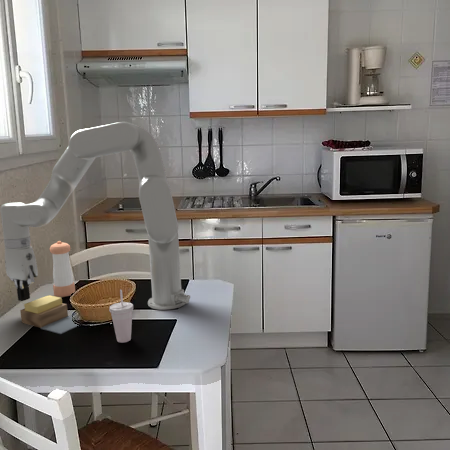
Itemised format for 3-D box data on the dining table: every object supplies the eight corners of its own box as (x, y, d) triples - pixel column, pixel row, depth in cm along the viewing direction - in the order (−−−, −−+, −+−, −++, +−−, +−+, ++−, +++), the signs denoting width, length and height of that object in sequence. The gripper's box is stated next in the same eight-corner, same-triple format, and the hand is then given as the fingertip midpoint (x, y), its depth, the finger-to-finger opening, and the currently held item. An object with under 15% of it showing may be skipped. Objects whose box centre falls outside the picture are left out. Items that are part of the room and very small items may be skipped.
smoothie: (139, 335, 137) (136, 287, 134) (129, 345, 131) (125, 295, 128) (119, 334, 139) (115, 286, 136) (107, 343, 133) (103, 293, 130)
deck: (68, 316, 154) (66, 304, 153) (41, 327, 145) (39, 315, 145) (48, 311, 158) (47, 299, 158) (21, 322, 150) (20, 310, 149)
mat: (89, 320, 149) (89, 319, 149) (60, 334, 140) (60, 333, 140) (70, 316, 154) (69, 315, 154) (40, 328, 145) (40, 327, 145)
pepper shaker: (54, 291, 179) (49, 239, 175) (75, 289, 180) (70, 238, 177) (53, 298, 172) (47, 244, 168) (75, 295, 173) (69, 242, 170)
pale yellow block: (49, 301, 156) (48, 295, 156) (62, 304, 153) (61, 297, 153) (24, 310, 149) (24, 304, 148) (37, 313, 146) (37, 307, 145)
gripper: (43, 242, 151) (49, 299, 155) (13, 238, 159) (19, 292, 163) (22, 247, 145) (29, 307, 149) (-9, 243, 153) (-2, 299, 156)
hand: (24, 299), depth 156 cm, fingers closed
